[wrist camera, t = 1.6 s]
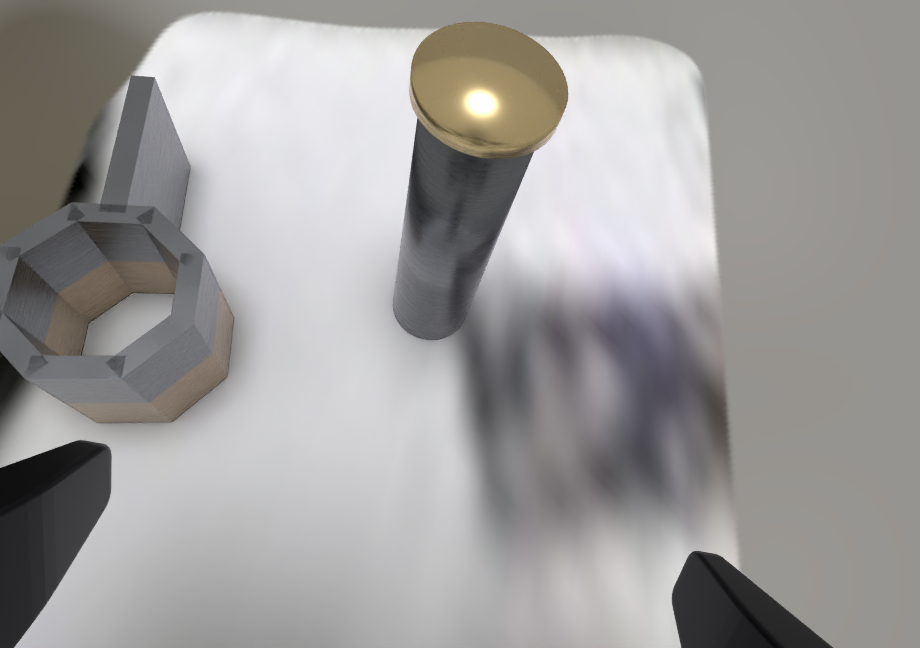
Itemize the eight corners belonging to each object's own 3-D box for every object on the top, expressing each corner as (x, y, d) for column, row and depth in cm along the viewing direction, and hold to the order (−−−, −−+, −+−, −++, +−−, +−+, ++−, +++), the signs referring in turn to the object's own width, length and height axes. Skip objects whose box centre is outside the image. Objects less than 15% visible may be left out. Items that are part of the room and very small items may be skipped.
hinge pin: (475, 346, 24) (578, 147, 13) (386, 345, 23) (413, 135, 12) (470, 268, 26) (557, 30, 15) (385, 265, 25) (409, 14, 14)
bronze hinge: (222, 421, 21) (186, 378, 17) (-144, 426, 19) (-298, 379, 15) (251, 170, 26) (229, 83, 21) (-41, 152, 24) (-132, 53, 19)
